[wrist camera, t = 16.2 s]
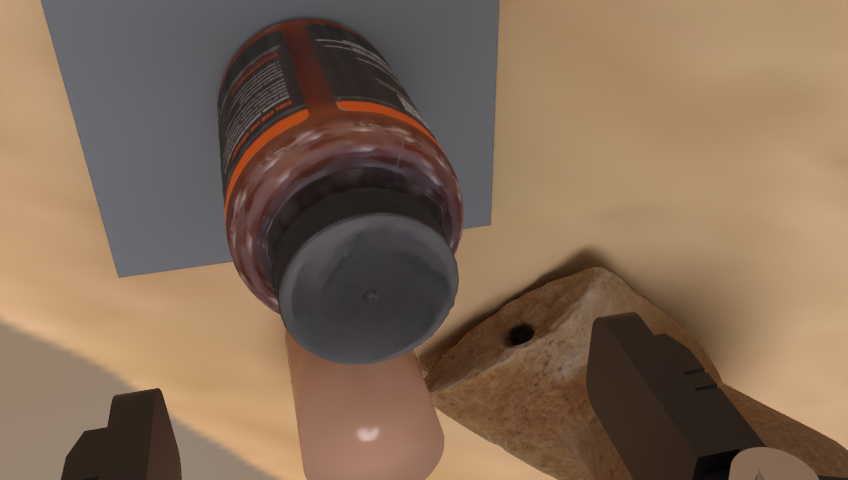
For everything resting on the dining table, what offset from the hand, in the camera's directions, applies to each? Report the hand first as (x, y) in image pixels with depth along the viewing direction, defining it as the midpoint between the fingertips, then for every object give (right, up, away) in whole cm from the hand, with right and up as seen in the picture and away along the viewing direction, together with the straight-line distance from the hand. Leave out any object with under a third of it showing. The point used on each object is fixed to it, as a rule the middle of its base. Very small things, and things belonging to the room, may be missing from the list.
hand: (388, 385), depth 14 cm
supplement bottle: (-3, +7, +12) cm, 14 cm away
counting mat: (-4, +8, +12) cm, 15 cm away
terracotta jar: (-3, -1, +18) cm, 18 cm away
